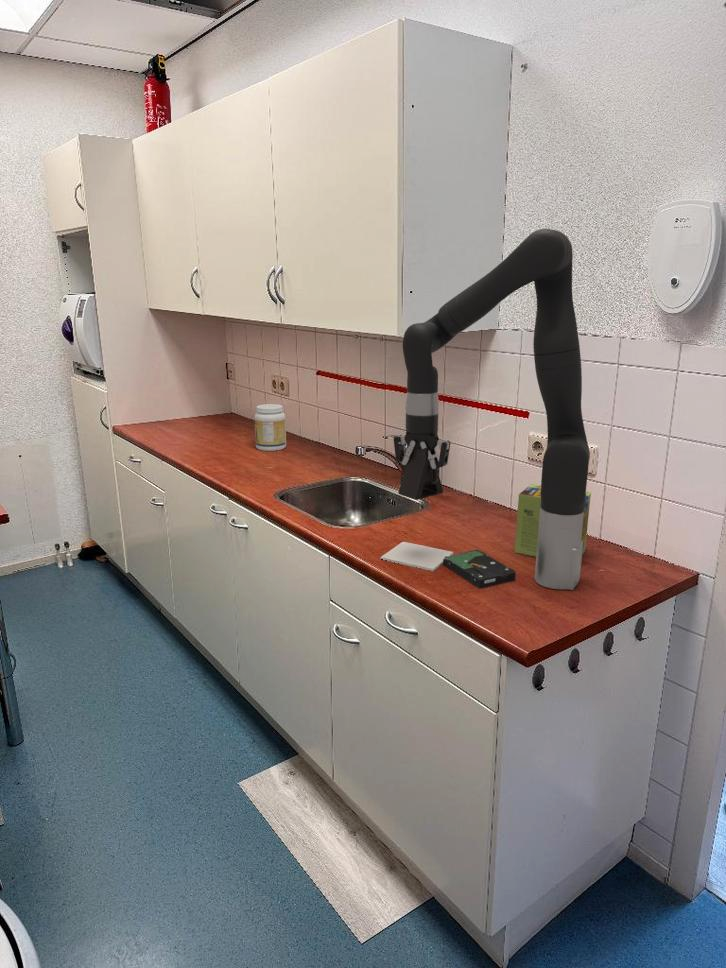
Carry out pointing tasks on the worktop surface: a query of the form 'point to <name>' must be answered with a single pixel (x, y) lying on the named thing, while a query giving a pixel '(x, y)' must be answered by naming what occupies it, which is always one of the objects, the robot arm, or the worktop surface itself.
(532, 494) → the protein box
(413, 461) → the phone stand
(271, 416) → the supplement tub
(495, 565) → the disk drive
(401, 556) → the grey mat
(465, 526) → the worktop surface
